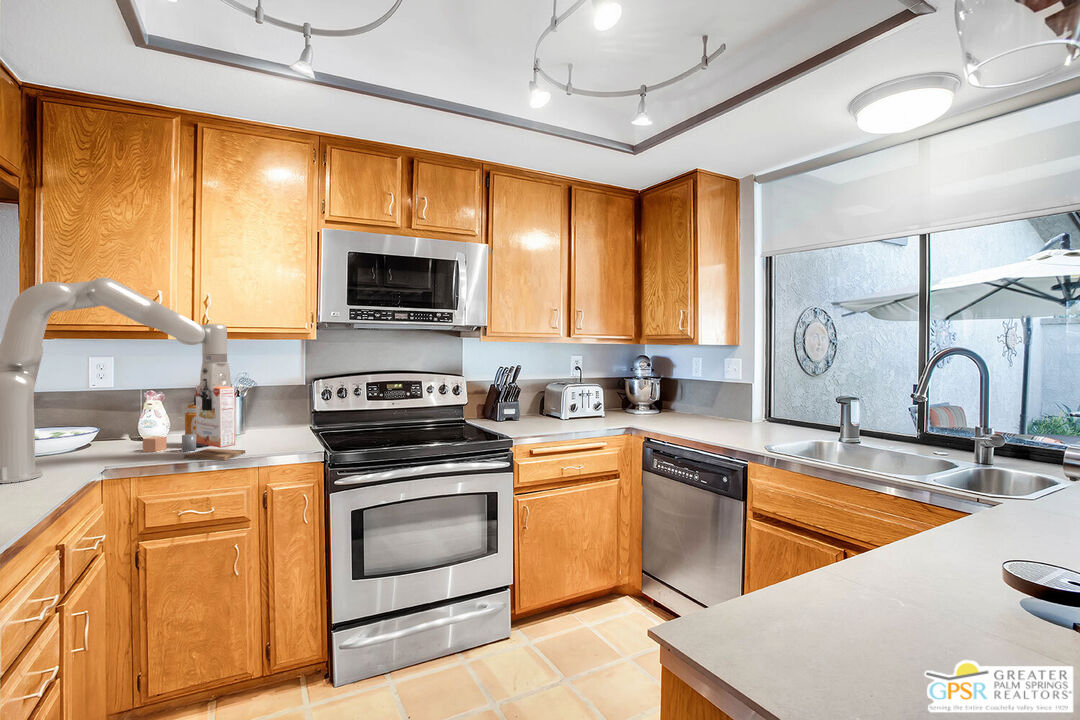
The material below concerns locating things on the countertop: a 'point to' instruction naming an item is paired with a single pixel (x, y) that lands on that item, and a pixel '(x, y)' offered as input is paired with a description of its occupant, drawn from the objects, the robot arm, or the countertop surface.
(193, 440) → the slate cylinder
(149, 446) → the terracotta block
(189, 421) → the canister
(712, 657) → the countertop surface
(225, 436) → the cracker box
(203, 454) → the cutting board
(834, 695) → the countertop surface
